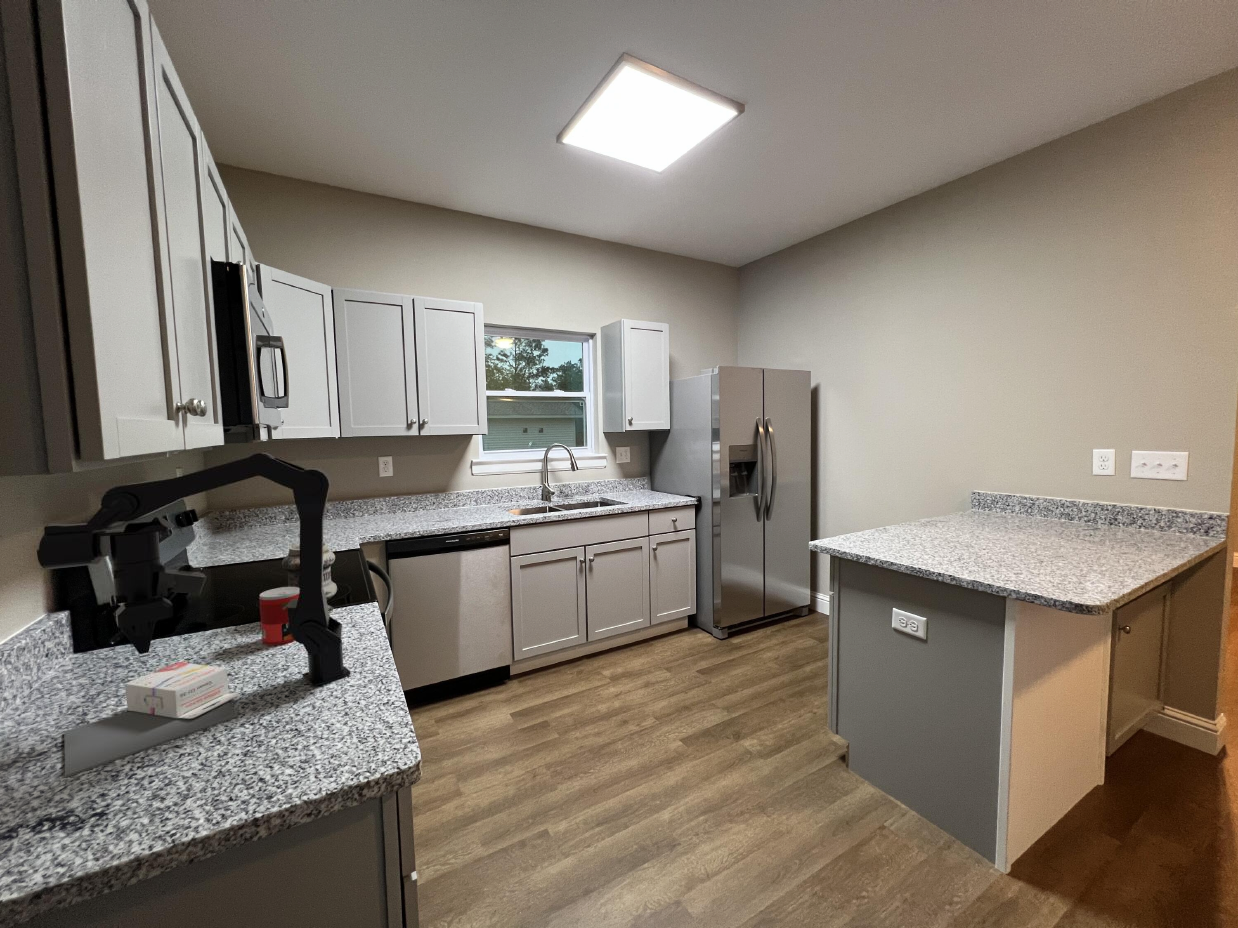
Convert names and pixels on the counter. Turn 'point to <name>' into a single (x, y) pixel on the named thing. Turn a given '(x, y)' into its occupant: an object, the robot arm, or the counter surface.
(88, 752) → the mat
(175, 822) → the counter surface
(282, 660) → the counter surface
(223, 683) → the ink cartridge box
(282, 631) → the canned food
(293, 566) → the apothecary jar
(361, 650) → the counter surface
